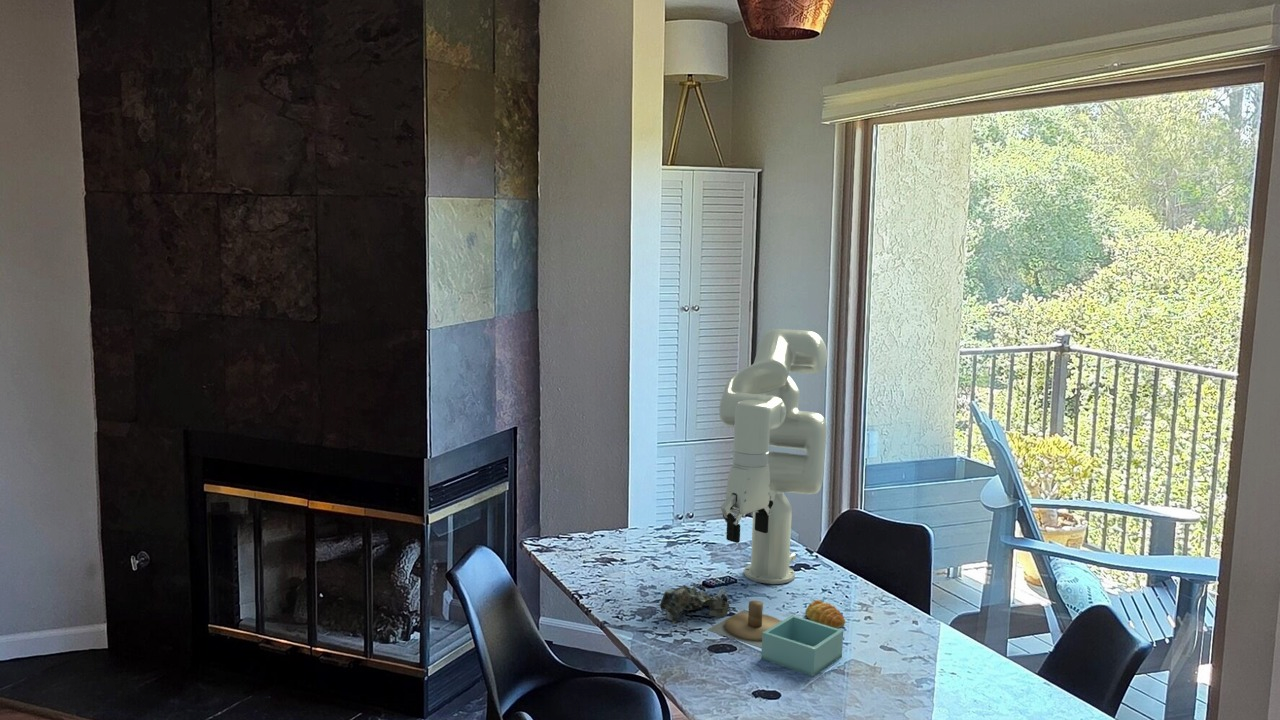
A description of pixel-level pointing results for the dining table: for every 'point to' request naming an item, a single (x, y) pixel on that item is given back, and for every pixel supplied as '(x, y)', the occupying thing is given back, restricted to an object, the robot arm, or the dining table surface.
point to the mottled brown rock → (693, 602)
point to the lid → (750, 623)
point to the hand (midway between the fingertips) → (747, 536)
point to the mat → (721, 630)
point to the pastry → (824, 614)
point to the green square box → (802, 645)
